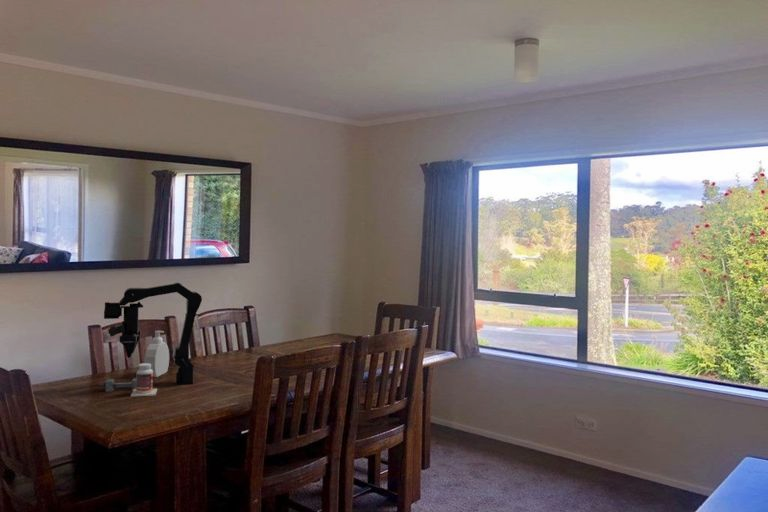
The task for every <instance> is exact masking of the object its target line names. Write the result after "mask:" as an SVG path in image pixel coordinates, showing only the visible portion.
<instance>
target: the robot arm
mask: <svg viewBox="0 0 768 512" xmlns="http://www.w3.org/2000/svg"><path fill="white" fill-rule="evenodd" d="M123 292H124V293H123V297H122V298H121V299H120V300H119V302H110V301H108V302H107V301H106V302H104V310H103V319H104V320H113V319H117V320H118V319H120V317H123V320H122V322H121V323H120V324H118V325H112V326H110V327H109V328H108V329H107V331H108V334H109V336H110V337H114V336H116V335H118V334H121V335H120V336H119V343H120V344H122V345H123V346H124V349H125V354H126V357H127V358H128V359H129V358H131V357H132V355H133V354H134V352H135V350H136V347H137V345H138V343H139V341H140V338H141V335H142V329H140V327H139V323H140V320H139V309H141V308H142V309H143V308H144V305H143V304H142V303H141V302H140V301H141V300H144V299H147V298H149V297H156V296H162V295H168V294H169V295H170V294H174V293H177V294H179V295H181V296H182V297H183V298H184V299H186V303H185V306H186V313H185V316H184V321H183V326H182V331H181V336H180V339H179V342H178V343H179V344H178V345H177V346H174V347H173V353H172V358H173V361H174V364H175V366H178V368H177V371H176V372H175V373H176V374H175V376H176V379H175V383H176V384H177V385H191V384H194V367H195V366H194V363H193V362H192V360H191V359H190V342H191V337H192V332H193V328H194V323H195V320H196V314H197V312H198V311H199V309H200V306H201V304H202V300H203V298H202V295H201V294H200V293H198V292H196V291H191V290H190V289H188V288H187V287H186V286H184V285H182V284H181V283H180V282H175V283H170V284H162V285H157V286H152V287H129V288H127V289H125V291H123ZM136 302H137V303H136ZM128 304H129V305H128ZM122 312H123V313H122ZM122 315H123V316H122Z"/></svg>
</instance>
